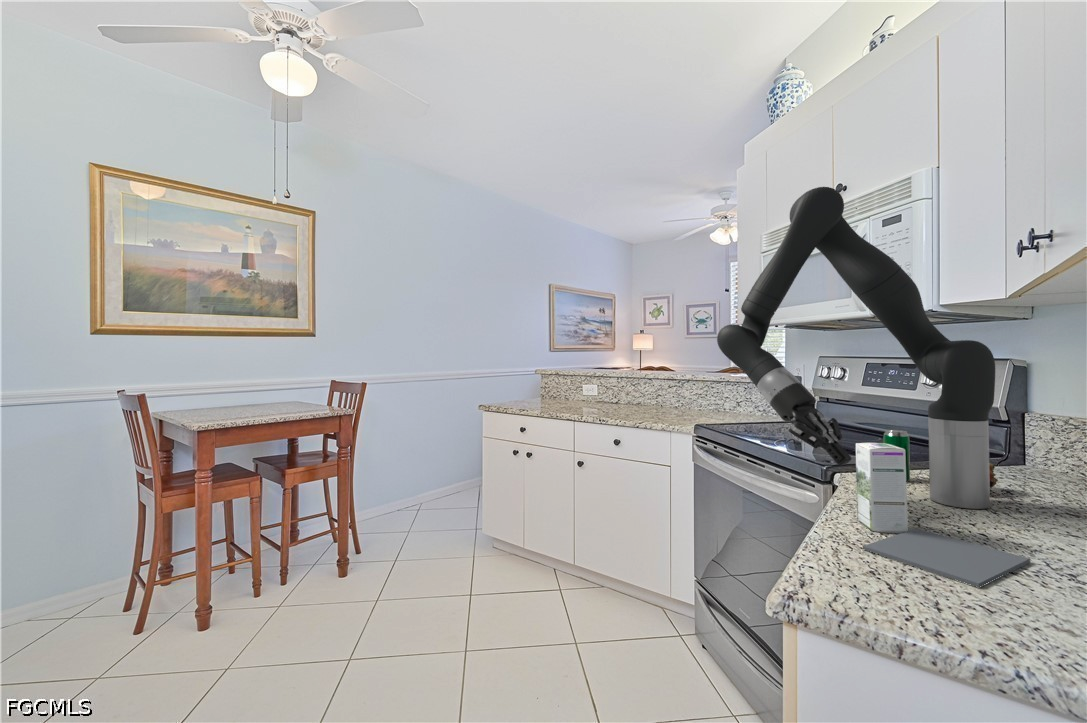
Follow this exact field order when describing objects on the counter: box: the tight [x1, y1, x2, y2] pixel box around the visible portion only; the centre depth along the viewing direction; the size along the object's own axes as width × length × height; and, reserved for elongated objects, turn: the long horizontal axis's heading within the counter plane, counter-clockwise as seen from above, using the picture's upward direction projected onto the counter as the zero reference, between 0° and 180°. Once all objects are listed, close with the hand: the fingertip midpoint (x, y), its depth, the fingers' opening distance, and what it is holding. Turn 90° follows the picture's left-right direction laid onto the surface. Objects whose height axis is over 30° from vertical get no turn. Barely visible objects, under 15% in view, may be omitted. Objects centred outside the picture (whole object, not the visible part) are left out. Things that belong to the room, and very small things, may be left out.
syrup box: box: [855, 442, 909, 534], centre depth 82 cm, size 6×6×14 cm
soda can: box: [883, 429, 911, 482], centre depth 114 cm, size 5×5×12 cm
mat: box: [862, 527, 1031, 588], centre depth 70 cm, size 16×14×1 cm
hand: (846, 462), depth 87 cm, fingers closed
